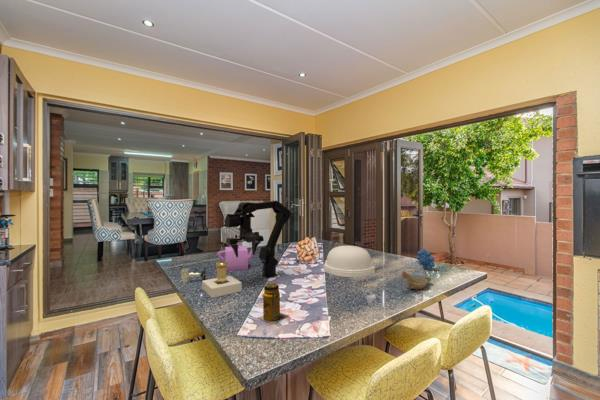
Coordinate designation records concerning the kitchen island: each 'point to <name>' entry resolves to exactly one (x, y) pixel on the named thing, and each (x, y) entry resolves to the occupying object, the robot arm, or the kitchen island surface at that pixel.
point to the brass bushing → (221, 272)
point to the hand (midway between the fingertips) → (245, 256)
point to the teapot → (236, 258)
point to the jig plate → (221, 287)
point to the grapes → (425, 259)
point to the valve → (191, 275)
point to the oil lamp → (415, 281)
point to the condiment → (271, 304)
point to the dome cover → (349, 262)
